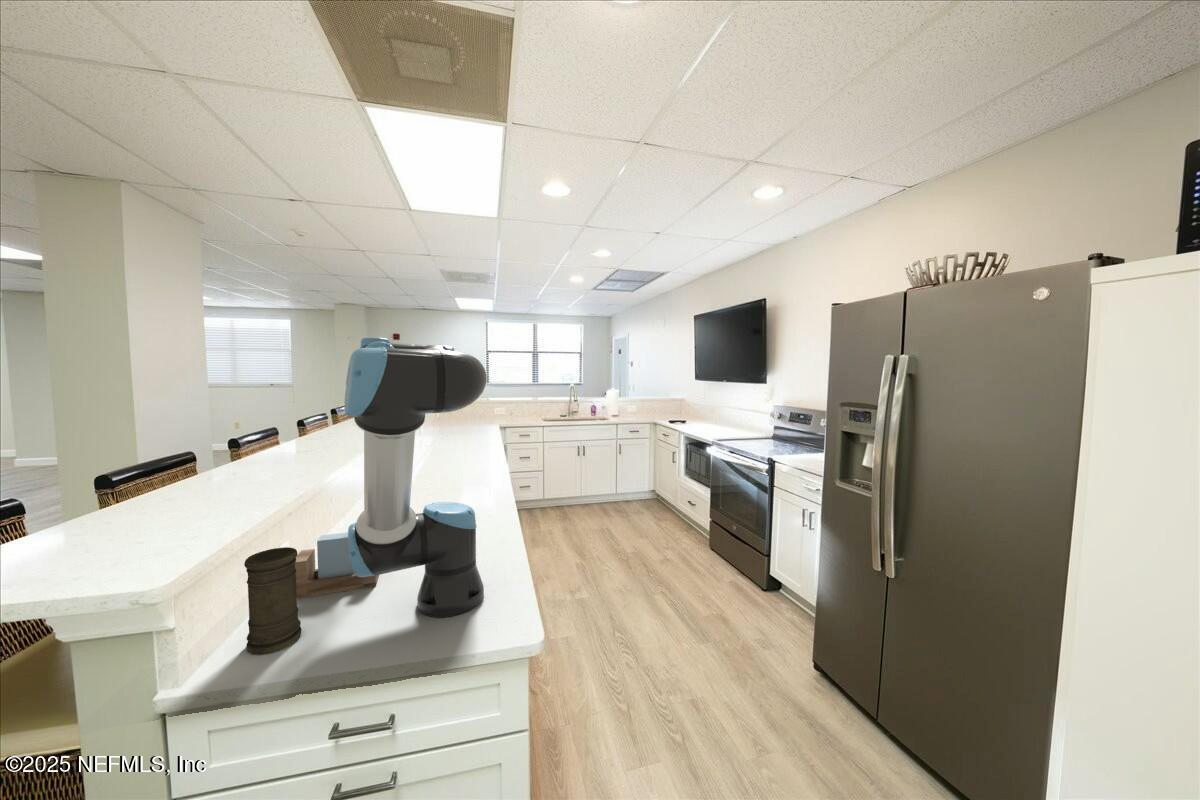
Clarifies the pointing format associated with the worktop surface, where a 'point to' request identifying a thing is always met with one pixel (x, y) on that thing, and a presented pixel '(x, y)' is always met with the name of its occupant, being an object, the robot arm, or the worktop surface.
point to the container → (272, 601)
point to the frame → (313, 586)
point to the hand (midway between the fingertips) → (379, 471)
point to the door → (334, 556)
